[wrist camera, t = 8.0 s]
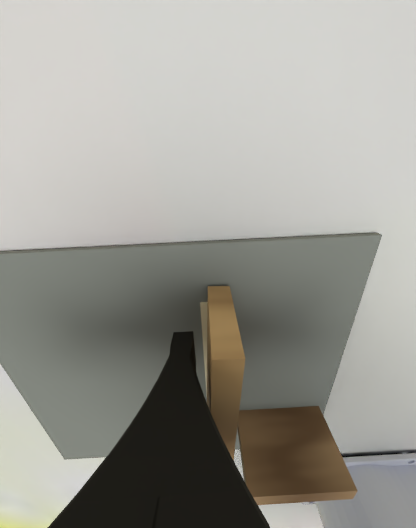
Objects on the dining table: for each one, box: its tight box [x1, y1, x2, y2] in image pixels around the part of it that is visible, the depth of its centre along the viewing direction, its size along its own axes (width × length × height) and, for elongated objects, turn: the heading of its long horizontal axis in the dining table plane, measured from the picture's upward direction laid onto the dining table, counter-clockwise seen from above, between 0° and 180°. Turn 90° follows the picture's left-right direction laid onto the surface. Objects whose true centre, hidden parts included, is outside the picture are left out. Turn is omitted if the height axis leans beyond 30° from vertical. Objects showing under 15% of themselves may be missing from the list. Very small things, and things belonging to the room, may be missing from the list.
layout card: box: [0, 233, 382, 459], centre depth 13 cm, size 19×17×1 cm
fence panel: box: [207, 286, 245, 460], centre depth 11 cm, size 9×1×4 cm, turn 0°
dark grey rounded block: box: [233, 406, 358, 505], centre depth 13 cm, size 8×2×5 cm, turn 92°
